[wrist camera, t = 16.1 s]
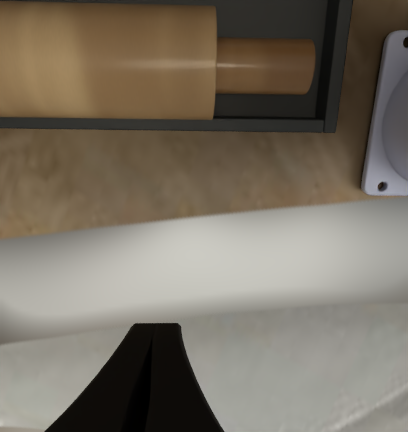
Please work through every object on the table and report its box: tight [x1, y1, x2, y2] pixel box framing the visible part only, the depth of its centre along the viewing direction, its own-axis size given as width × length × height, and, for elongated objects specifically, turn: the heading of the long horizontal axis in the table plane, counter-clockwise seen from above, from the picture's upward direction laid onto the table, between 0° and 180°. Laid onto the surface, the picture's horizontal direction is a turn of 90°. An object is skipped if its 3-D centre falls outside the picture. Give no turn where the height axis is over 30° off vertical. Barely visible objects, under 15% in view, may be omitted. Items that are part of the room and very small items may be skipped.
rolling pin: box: [0, 1, 316, 120], centre depth 15 cm, size 18×4×4 cm, turn 89°
